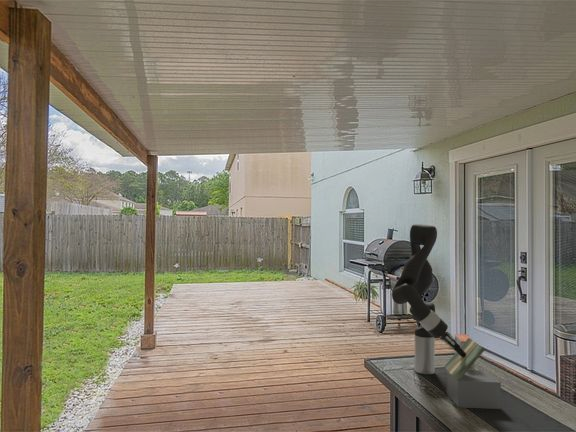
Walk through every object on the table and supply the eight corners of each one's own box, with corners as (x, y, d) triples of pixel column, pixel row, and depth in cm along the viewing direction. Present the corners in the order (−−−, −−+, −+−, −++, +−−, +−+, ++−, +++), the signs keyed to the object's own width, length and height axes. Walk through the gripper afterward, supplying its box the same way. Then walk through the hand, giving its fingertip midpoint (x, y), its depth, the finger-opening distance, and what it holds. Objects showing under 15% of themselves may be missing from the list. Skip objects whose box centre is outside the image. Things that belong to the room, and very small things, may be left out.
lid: (446, 368, 177) (443, 366, 177) (471, 339, 177) (468, 337, 177) (458, 381, 162) (455, 378, 162) (485, 349, 162) (482, 347, 162)
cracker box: (475, 391, 179) (475, 341, 180) (460, 390, 180) (460, 340, 181) (468, 380, 193) (468, 334, 194) (454, 379, 194) (454, 333, 195)
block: (446, 393, 176) (446, 369, 177) (486, 395, 175) (486, 370, 176) (458, 407, 162) (458, 380, 163) (500, 409, 161) (500, 382, 162)
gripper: (444, 320, 164) (476, 353, 163) (434, 314, 178) (464, 344, 176) (430, 333, 165) (462, 366, 163) (422, 326, 178) (451, 357, 176)
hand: (463, 355), depth 170 cm, fingers closed
